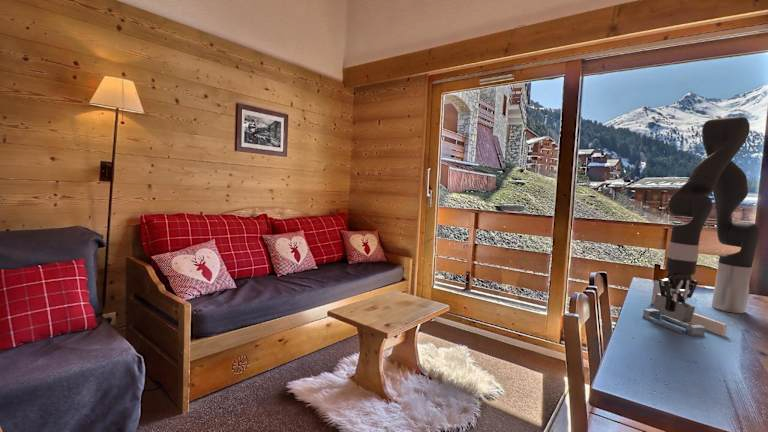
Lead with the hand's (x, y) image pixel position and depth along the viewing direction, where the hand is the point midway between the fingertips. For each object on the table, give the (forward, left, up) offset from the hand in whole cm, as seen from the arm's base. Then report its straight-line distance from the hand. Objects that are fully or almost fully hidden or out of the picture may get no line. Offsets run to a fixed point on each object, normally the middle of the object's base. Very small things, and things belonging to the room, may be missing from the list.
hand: (673, 310), depth 122 cm
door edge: (-9, 0, -5) cm, 10 cm away
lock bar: (0, -1, -2) cm, 2 cm away
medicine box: (-15, -15, -5) cm, 22 cm away
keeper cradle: (0, 0, -5) cm, 5 cm away
